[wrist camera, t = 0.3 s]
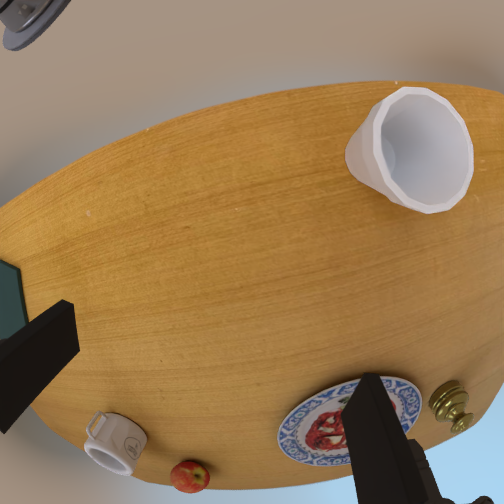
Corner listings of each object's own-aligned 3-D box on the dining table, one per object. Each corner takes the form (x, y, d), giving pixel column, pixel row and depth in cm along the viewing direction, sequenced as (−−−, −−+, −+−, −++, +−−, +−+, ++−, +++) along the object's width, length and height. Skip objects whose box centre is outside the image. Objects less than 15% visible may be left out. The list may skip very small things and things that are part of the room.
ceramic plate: (382, 453, 41) (385, 463, 38) (266, 456, 42) (265, 468, 39) (440, 365, 34) (448, 376, 32) (295, 364, 35) (297, 377, 32)
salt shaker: (460, 373, 35) (485, 406, 25) (457, 396, 36) (478, 427, 27) (428, 391, 36) (449, 429, 26) (427, 413, 38) (445, 448, 28)
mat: (-17, 250, 36) (-20, 251, 35) (19, 268, 35) (16, 270, 34) (-1, 335, 42) (-3, 337, 41) (38, 362, 41) (36, 364, 40)
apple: (217, 467, 45) (212, 495, 37) (197, 475, 47) (190, 500, 39) (187, 452, 44) (178, 481, 36) (168, 460, 46) (159, 486, 38)
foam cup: (339, 203, 29) (383, 222, 17) (322, 122, 27) (357, 87, 15) (411, 191, 28) (479, 204, 16) (396, 116, 26) (459, 90, 13)
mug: (157, 445, 44) (142, 479, 34) (120, 441, 46) (104, 471, 36) (122, 402, 41) (100, 439, 31) (86, 401, 42) (64, 431, 33)
